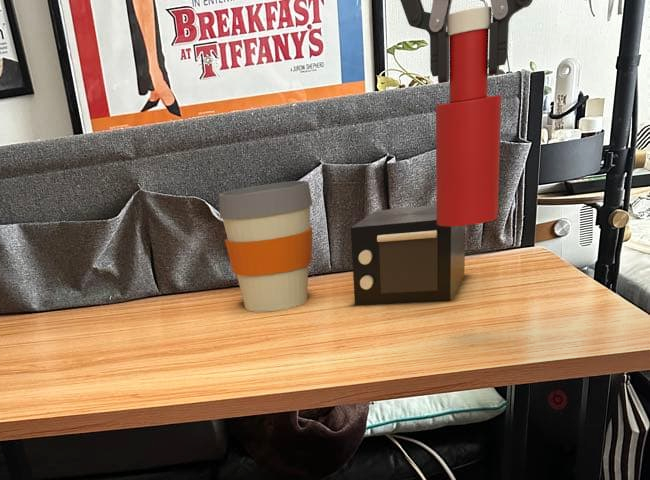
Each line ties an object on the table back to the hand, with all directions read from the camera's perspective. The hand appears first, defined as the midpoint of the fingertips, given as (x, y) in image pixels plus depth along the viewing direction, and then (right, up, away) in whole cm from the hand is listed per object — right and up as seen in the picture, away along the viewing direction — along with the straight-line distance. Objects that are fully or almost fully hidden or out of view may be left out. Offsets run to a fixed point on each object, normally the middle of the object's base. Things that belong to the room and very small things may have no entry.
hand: (468, 77), depth 63 cm
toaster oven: (+3, -8, +33) cm, 34 cm away
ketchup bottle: (+2, -10, +6) cm, 12 cm away
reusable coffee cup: (-15, -7, +40) cm, 43 cm away
